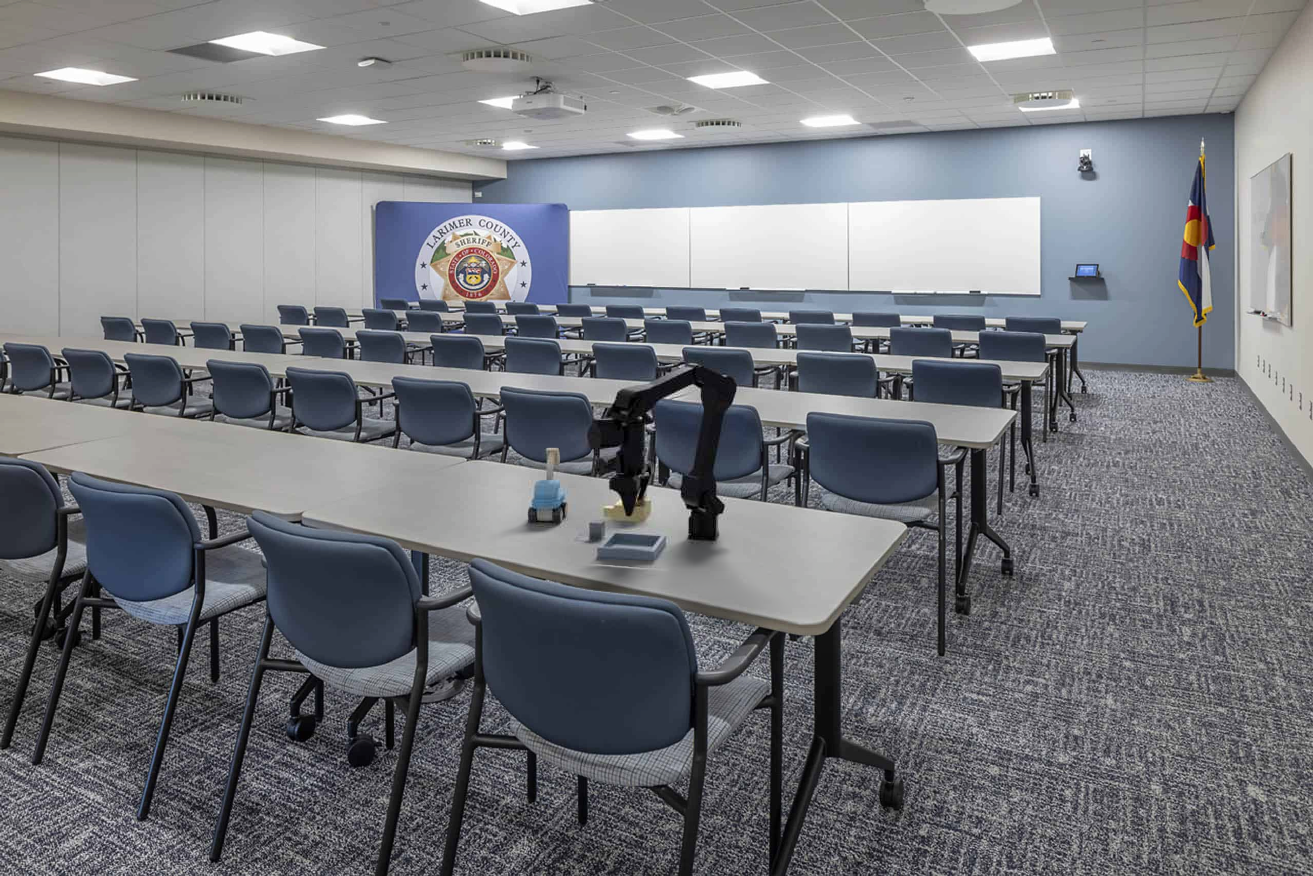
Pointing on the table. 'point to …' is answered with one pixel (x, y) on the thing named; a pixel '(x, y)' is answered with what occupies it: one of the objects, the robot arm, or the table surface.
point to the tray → (631, 546)
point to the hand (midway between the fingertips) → (632, 511)
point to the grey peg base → (594, 532)
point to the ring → (638, 515)
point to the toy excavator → (548, 494)
